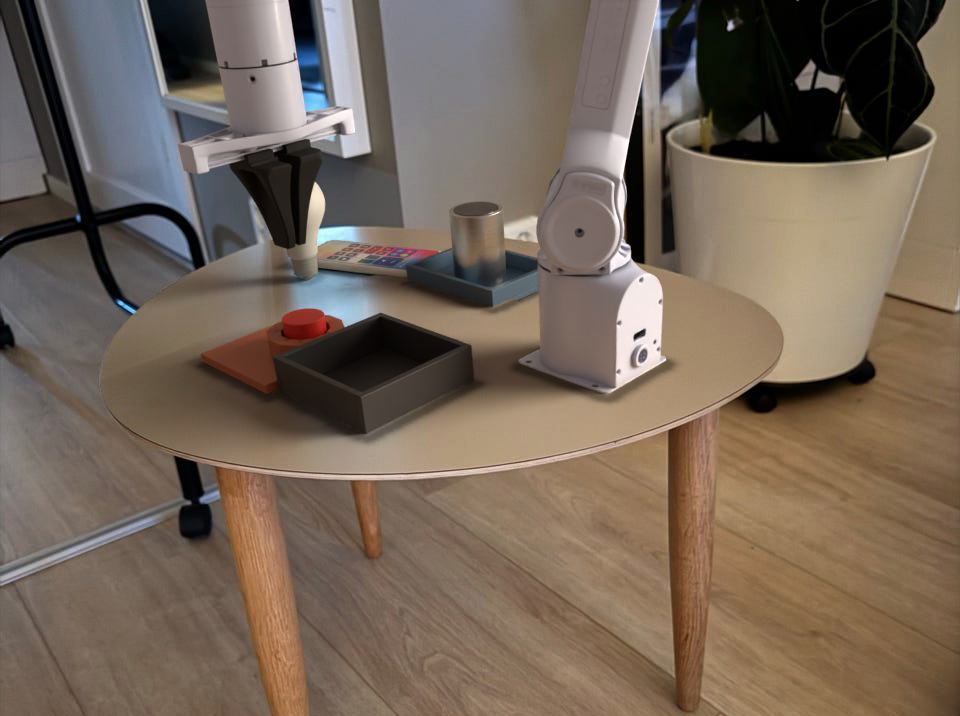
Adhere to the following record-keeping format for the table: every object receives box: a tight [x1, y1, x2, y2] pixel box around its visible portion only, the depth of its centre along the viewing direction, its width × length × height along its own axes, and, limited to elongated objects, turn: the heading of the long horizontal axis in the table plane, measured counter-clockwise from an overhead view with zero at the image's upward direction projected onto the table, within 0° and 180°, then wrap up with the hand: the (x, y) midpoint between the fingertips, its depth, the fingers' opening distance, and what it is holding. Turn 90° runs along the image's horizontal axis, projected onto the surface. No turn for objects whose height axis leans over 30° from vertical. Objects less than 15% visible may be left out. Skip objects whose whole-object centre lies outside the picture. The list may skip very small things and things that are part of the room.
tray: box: [406, 247, 538, 308], centre depth 94 cm, size 12×9×2 cm
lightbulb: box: [285, 181, 326, 281], centre depth 96 cm, size 6×6×11 cm
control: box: [200, 314, 345, 395], centre depth 81 cm, size 10×10×3 cm
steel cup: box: [448, 200, 506, 287], centre depth 93 cm, size 5×5×7 cm
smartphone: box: [316, 239, 441, 278], centre depth 102 cm, size 7×1×15 cm
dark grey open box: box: [273, 312, 475, 435], centre depth 75 cm, size 11×11×4 cm
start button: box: [281, 307, 327, 340], centre depth 80 cm, size 4×4×2 cm
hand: (290, 244), depth 76 cm, fingers closed
